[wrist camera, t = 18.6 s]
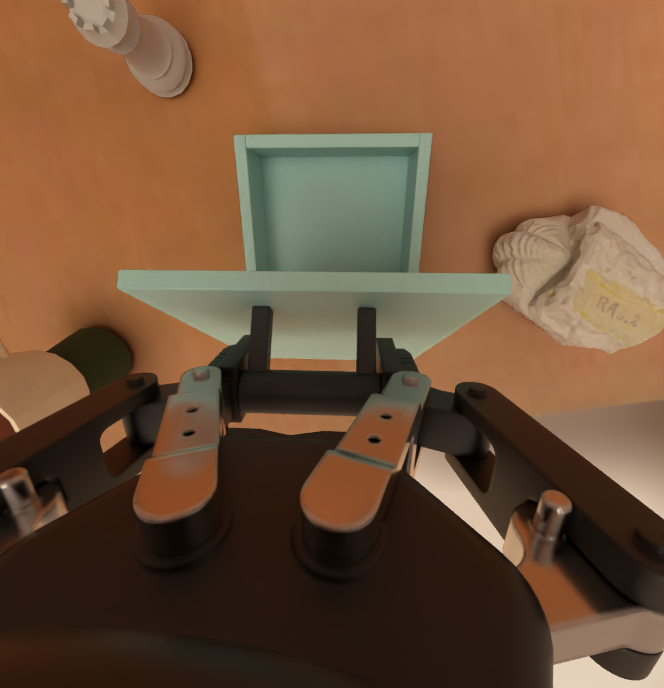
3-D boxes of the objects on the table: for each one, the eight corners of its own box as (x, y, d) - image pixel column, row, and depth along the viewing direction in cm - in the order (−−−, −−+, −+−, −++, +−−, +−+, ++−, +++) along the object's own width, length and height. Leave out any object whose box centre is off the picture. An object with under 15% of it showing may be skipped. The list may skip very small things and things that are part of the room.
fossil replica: (493, 198, 27) (466, 312, 31) (535, 207, 19) (492, 354, 24) (655, 206, 26) (601, 324, 30) (765, 218, 18) (673, 371, 23)
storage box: (252, 147, 26) (232, 134, 22) (418, 146, 25) (432, 132, 21) (267, 331, 32) (253, 351, 28) (401, 334, 31) (410, 354, 27)
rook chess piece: (207, 76, 24) (145, 19, 17) (162, 112, 25) (85, 72, 18) (169, 9, 23) (84, -86, 16) (122, 49, 24) (22, -22, 17)
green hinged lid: (118, 268, 11) (96, 410, 10) (511, 272, 11) (522, 423, 10) (252, 349, 27) (248, 406, 26) (411, 352, 27) (412, 411, 26)
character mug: (44, 314, 32) (-135, 376, 20) (105, 293, 31) (-47, 346, 19) (105, 405, 36) (-17, 502, 24) (161, 389, 35) (63, 483, 23)
